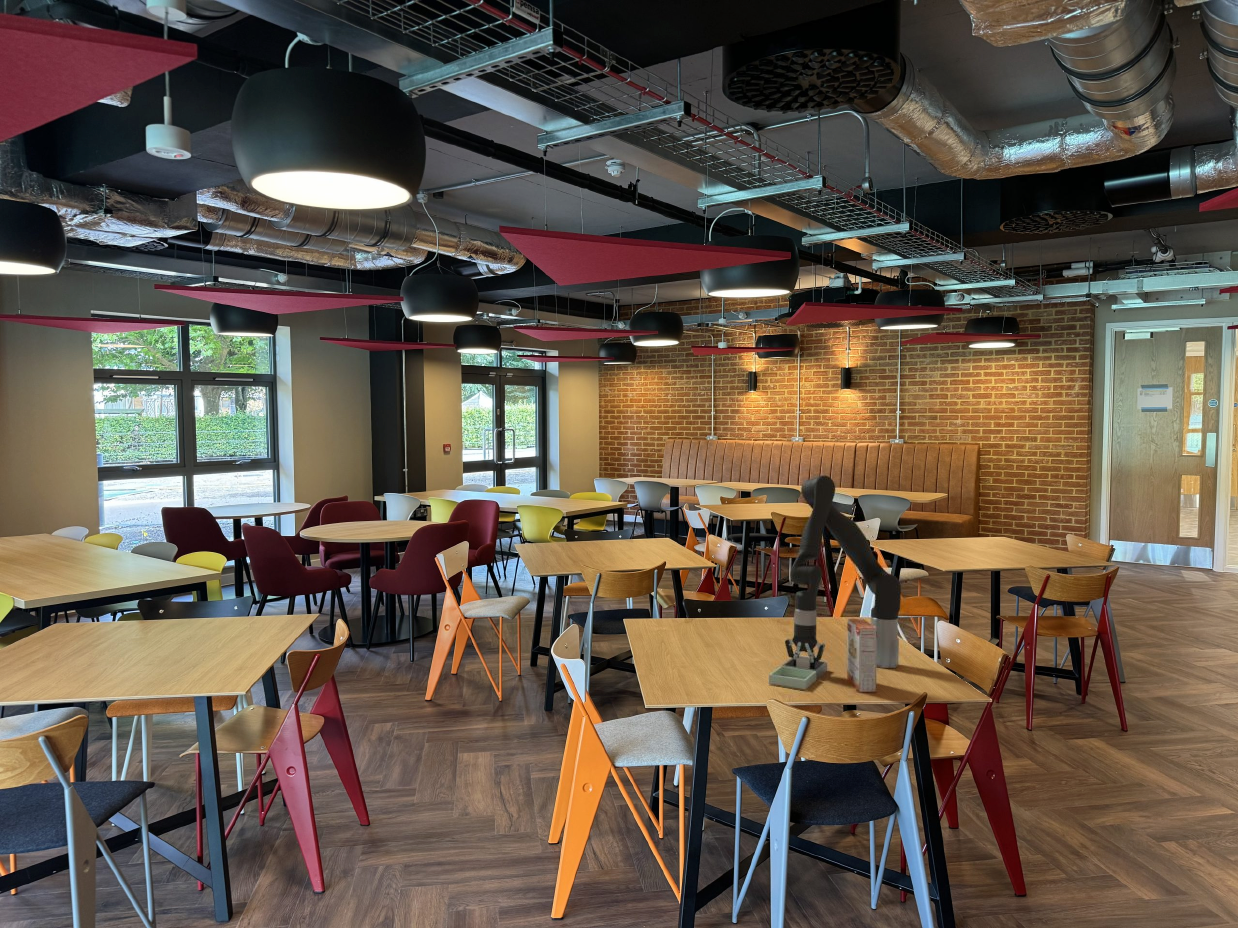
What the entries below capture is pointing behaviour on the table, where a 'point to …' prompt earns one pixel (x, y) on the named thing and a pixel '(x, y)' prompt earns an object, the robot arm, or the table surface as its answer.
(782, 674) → the bin
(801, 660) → the light grey block
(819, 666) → the bin
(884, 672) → the table surface
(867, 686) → the cracker box
